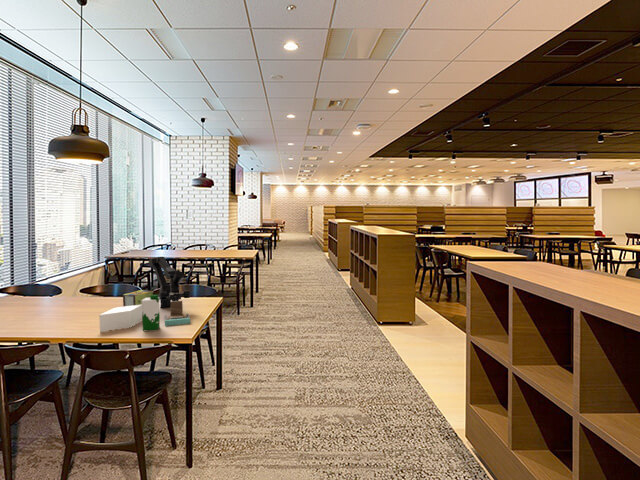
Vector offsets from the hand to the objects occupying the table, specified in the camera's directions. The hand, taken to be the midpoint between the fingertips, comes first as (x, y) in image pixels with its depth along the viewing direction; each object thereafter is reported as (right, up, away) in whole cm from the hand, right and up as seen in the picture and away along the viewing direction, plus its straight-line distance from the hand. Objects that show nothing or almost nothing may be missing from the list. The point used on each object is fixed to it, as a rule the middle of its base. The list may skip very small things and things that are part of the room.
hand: (175, 305), depth 260 cm
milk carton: (-4, -9, -29) cm, 31 cm away
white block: (-23, -8, -23) cm, 34 cm away
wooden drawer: (+5, -7, -11) cm, 14 cm away
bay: (+6, -7, -13) cm, 16 cm away
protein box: (-24, -7, -1) cm, 25 cm away
